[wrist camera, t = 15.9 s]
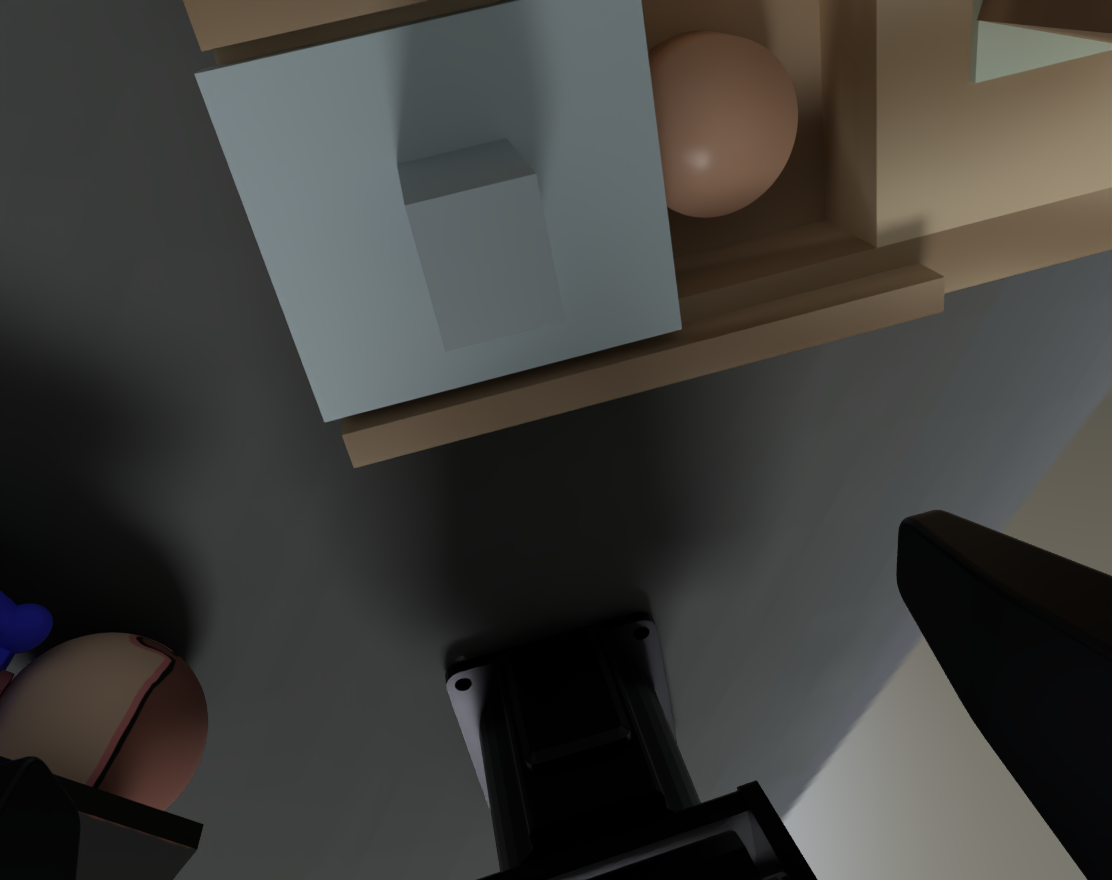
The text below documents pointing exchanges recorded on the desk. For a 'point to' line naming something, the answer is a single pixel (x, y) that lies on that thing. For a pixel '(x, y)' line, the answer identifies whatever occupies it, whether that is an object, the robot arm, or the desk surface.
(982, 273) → the puzzle board
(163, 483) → the desk surface
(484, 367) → the lid
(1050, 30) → the peg
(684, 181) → the ball
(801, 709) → the desk surface
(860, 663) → the desk surface
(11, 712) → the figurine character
